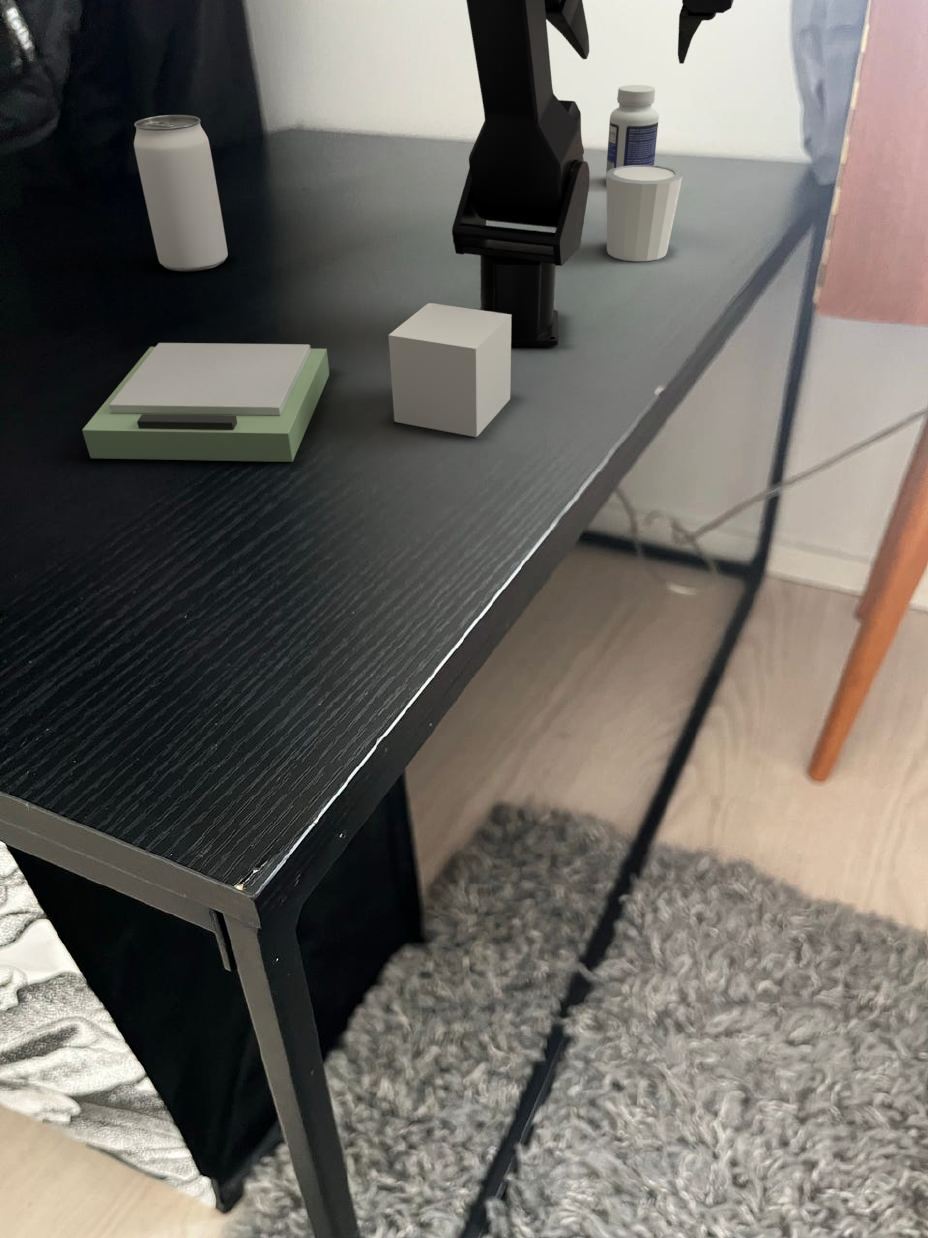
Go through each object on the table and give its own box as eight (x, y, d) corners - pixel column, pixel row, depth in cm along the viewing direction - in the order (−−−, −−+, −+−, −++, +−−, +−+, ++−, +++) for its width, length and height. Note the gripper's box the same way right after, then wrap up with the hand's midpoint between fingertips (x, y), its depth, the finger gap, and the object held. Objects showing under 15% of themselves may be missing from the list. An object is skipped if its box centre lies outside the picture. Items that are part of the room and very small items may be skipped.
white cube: (510, 399, 65) (512, 314, 61) (476, 437, 61) (476, 348, 57) (431, 385, 67) (428, 302, 63) (393, 421, 63) (388, 334, 59)
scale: (292, 462, 59) (287, 424, 57) (90, 458, 59) (79, 420, 58) (329, 374, 69) (325, 340, 67) (156, 372, 69) (148, 338, 68)
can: (194, 277, 86) (166, 132, 78) (144, 265, 88) (113, 124, 81) (243, 257, 90) (220, 117, 82) (194, 246, 93) (168, 111, 85)
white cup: (672, 265, 86) (682, 183, 82) (597, 261, 87) (603, 180, 83) (674, 242, 91) (683, 164, 87) (603, 238, 93) (609, 162, 88)
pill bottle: (659, 180, 109) (669, 85, 103) (640, 191, 106) (649, 93, 100) (617, 174, 112) (624, 81, 106) (597, 185, 108) (603, 89, 102)
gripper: (767, -196, 72) (756, -6, 86) (537, -187, 78) (562, -10, 92) (732, -90, 69) (726, 88, 84) (497, -89, 75) (529, 78, 89)
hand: (633, 57), depth 87 cm, fingers open, 9 cm apart
